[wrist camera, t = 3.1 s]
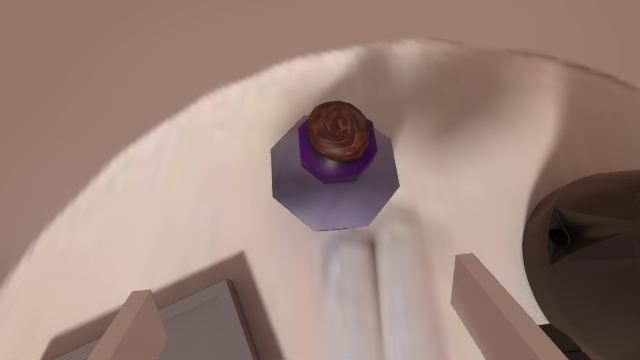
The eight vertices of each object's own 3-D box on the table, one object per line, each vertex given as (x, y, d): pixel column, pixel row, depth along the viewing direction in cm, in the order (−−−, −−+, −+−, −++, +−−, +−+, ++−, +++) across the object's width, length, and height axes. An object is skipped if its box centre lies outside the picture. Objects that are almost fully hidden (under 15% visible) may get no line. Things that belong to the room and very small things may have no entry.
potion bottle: (400, 220, 26) (463, 159, 15) (307, 270, 25) (299, 245, 13) (349, 138, 29) (369, 34, 18) (262, 179, 27) (224, 94, 16)
